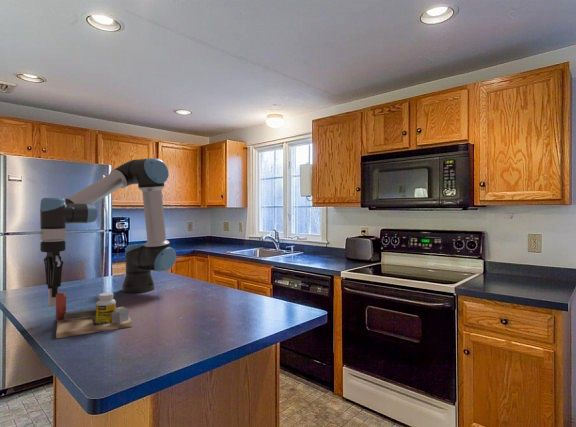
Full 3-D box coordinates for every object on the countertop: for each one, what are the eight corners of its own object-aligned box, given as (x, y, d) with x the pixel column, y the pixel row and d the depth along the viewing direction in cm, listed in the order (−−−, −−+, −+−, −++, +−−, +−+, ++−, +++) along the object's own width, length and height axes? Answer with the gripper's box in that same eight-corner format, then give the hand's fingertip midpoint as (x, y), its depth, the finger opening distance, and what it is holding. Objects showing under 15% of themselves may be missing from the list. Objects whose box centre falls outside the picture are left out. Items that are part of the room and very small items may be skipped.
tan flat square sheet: (123, 310, 142) (123, 305, 142) (131, 326, 123) (131, 320, 123) (58, 319, 130) (58, 314, 130) (56, 338, 111) (56, 332, 111)
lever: (108, 311, 132) (108, 287, 132) (109, 314, 129) (108, 289, 129) (56, 318, 124) (55, 293, 124) (55, 321, 121) (55, 295, 120)
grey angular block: (120, 323, 126) (120, 307, 126) (128, 323, 126) (128, 308, 125) (111, 328, 121) (111, 311, 121) (119, 328, 121) (119, 312, 121)
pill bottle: (95, 329, 120) (95, 296, 120) (96, 323, 125) (96, 292, 125) (116, 326, 123) (115, 294, 123) (115, 321, 128) (115, 291, 128)
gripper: (35, 240, 129) (35, 304, 129) (46, 242, 120) (46, 311, 121) (58, 238, 135) (59, 300, 135) (71, 240, 126) (71, 306, 126)
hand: (53, 305), depth 128 cm, fingers closed
